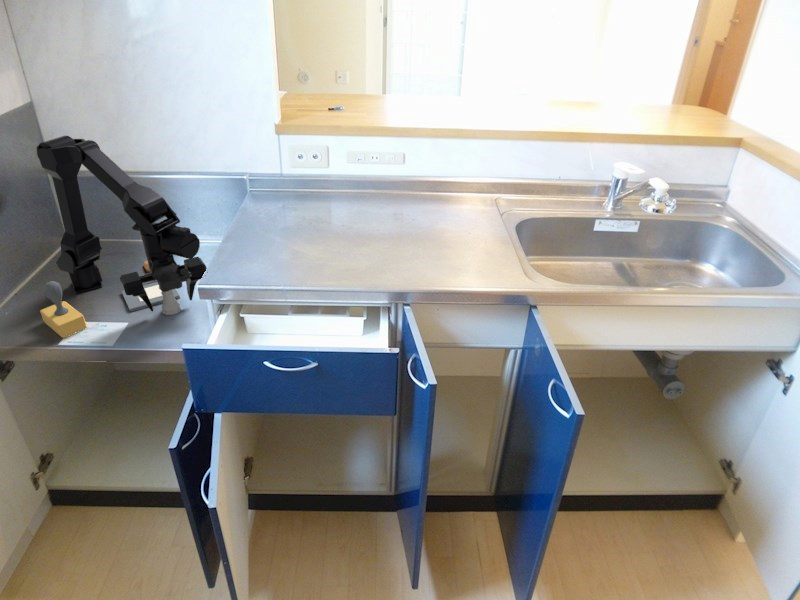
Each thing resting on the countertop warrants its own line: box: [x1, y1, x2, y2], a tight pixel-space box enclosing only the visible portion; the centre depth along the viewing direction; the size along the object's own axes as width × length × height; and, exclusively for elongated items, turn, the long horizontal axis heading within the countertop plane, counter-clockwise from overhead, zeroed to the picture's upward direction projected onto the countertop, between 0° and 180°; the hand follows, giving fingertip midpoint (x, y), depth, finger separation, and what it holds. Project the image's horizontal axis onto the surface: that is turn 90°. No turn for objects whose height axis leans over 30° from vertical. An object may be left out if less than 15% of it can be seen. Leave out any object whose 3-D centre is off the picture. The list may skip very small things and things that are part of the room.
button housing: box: [139, 264, 157, 285], centre depth 152 cm, size 5×5×3 cm
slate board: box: [121, 282, 181, 313], centre depth 145 cm, size 12×10×1 cm
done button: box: [143, 260, 150, 273], centre depth 151 cm, size 4×4×2 cm
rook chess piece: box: [159, 287, 182, 316], centre depth 137 cm, size 4×4×8 cm
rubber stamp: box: [39, 280, 88, 339], centre depth 130 cm, size 10×6×12 cm, turn 51°
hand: (171, 305), depth 138 cm, fingers open, 9 cm apart
